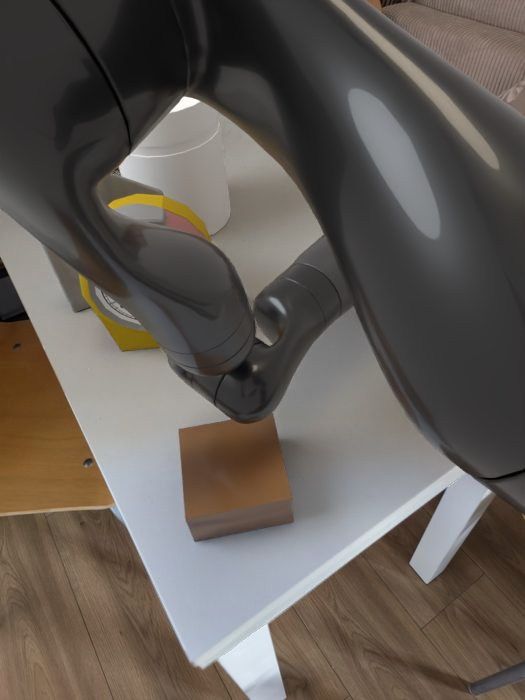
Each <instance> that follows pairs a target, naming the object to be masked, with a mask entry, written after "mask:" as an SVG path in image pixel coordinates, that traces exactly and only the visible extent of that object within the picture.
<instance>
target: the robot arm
mask: <svg viewBox="0 0 525 700" xmlns="http://www.w3.org/2000/svg"><path fill="white" fill-rule="evenodd" d="M183 97H189V98H193V99H196V100H199V101H201V102H203V103H205V104H207V105H208V106H210V107H212V108H213V109H215V110H216V111H218V114H220V115H222V116H223V117H225V118H226V119H227V120H228V121H230V122H231V123H233V124H234V125H235V126H236V127H238V128H239V129H240V130H241V131H243V132H244V133H245V134H246V135H248V136H249V137H250V138H251V140H252V141H254V142H255V143H256V144H257V145H258V146H259V147H260V148H261V149H263V151H265V152H266V154H268V155H269V156H270V157H271V158H272V159H273V160H274V161H275V162H276V163H277V164H278V165H279V166H280V167H281V168H282V169H283V170H284V172H285V173H286V174H287V175H288V177H289V178H290V179H291V181H293V183H294V184H295V186H296V187H297V189H298V190H299V192H300V193H301V195H302V197H303V198H304V200H305V201H306V203H307V205H308V206H309V208H310V210H311V212H312V214H313V216H314V217H315V220H316V221H317V223H318V225H319V227H320V230H321V231H322V233H323V234H322V236H320V237H319V238H318V239H316V241H314V242H313V243H312V244H311V245H309V246H308V247H307V248H306V249H304V251H303V252H301V253H300V254H299V255H298V256H297V258H296V259H295V260H294V261H293V262H292V263H291V265H290V266H289V267H288V268H286V269H285V270H284V271H282V272H281V273H280V274H279V275H278V276H276V277H275V278H274V279H273V280H272V281H270V283H268V284H267V285H266V286H265V287H264V288H262V290H260V292H259V293H258V294H257V295H256V297H255V298H254V301H253V304H252V306H251V303H250V300H249V298H248V294H247V293H246V290H245V286H244V284H243V281H242V279H241V277H240V274H239V272H238V271H237V269H236V266H235V265H234V263H233V262H232V261H231V260H230V258H229V257H228V256H227V255H226V254H225V253H224V251H222V249H220V248H219V246H217V245H216V244H214V243H213V242H212V243H211V242H210V241H208V240H207V239H205V238H203V237H201V236H198V235H196V234H194V233H191V232H188V231H185V230H181V229H177V228H172V227H168V226H163V225H158V224H152V223H148V222H144V221H140V220H137V219H134V218H131V217H128V216H125V215H122V214H120V213H118V212H116V211H115V210H113V209H111V208H110V207H109V206H108V205H107V204H106V203H105V202H104V201H103V200H102V199H101V197H100V195H99V193H98V186H99V184H100V182H101V181H102V180H104V179H105V178H106V177H107V176H109V175H110V174H111V173H112V174H113V173H114V172H115V171H116V170H117V169H119V168H118V167H119V166H120V165H121V164H122V162H123V161H124V160H125V158H126V157H127V156H129V155H130V154H131V153H132V152H133V151H134V150H135V149H136V148H137V147H138V145H139V144H140V143H141V142H142V141H143V140H144V139H145V138H146V137H147V136H148V135H149V134H150V133H151V132H152V131H153V130H154V128H155V127H156V126H157V125H158V124H159V123H160V122H161V121H162V120H163V119H164V118H165V117H166V116H167V115H168V114H169V112H170V111H171V110H172V109H173V108H174V107H175V106H176V105H177V104H178V103H179V102H180V100H181V99H182V98H183ZM0 210H1V211H2V212H3V213H5V214H6V215H7V216H9V217H10V219H12V220H14V222H16V223H17V224H18V225H20V226H21V227H22V228H23V229H25V230H26V231H27V232H28V233H29V235H32V236H33V237H34V238H35V239H36V240H37V241H38V242H40V244H41V243H42V244H43V245H45V246H46V247H47V248H48V249H49V250H50V251H52V252H53V253H54V254H55V255H56V256H58V257H59V258H60V259H61V260H63V261H64V262H65V263H66V264H68V265H69V266H70V267H71V268H73V269H74V270H75V271H76V272H78V273H79V274H80V275H81V276H83V277H84V278H85V279H86V280H87V281H89V282H90V283H91V284H93V285H94V286H95V287H97V288H98V289H99V290H101V291H102V292H103V293H105V294H106V295H107V296H109V297H110V298H111V299H113V300H114V301H115V302H117V303H118V304H119V305H120V306H122V307H123V308H124V309H125V310H127V311H128V312H129V313H130V314H131V315H132V316H134V317H135V318H136V319H137V320H138V321H139V323H140V324H141V325H142V326H143V327H144V328H145V329H146V330H147V331H148V332H149V334H150V335H151V336H152V337H153V339H154V340H155V341H156V342H157V343H158V344H159V346H160V347H159V348H161V350H163V352H164V353H165V354H166V358H167V363H168V365H169V367H170V368H171V370H172V371H173V372H174V373H175V375H177V376H178V378H179V379H181V380H182V381H183V382H184V383H185V384H186V385H187V386H188V387H190V388H191V389H192V390H193V391H195V392H196V393H198V394H199V395H200V396H201V397H202V398H204V399H205V400H206V401H208V402H209V403H210V404H211V405H212V406H214V407H215V408H217V409H218V410H219V411H220V412H221V413H222V414H223V415H225V416H226V417H227V418H229V420H231V419H232V420H234V421H235V422H237V423H241V424H251V423H255V422H258V421H261V420H263V419H265V418H267V417H268V416H269V415H270V414H271V413H273V414H274V412H275V411H276V409H277V408H278V406H279V405H280V403H281V401H282V400H283V398H284V396H285V395H286V392H287V390H288V388H289V386H290V384H291V381H292V379H293V377H294V375H295V374H296V371H297V369H298V367H299V366H300V365H301V362H302V361H303V359H304V358H305V356H306V355H307V352H308V351H309V350H310V348H311V347H312V345H313V344H314V343H315V342H316V341H317V339H319V338H320V337H321V335H323V333H324V332H325V331H327V329H328V328H329V327H331V325H333V323H335V321H337V320H338V319H339V318H340V317H341V316H343V315H345V314H346V313H347V312H349V311H350V310H351V309H352V308H353V309H354V310H355V312H356V316H357V317H358V320H359V323H360V325H361V327H362V330H363V332H364V335H365V337H366V340H367V342H368V344H369V347H370V348H371V350H372V353H373V355H374V357H375V360H376V361H377V363H378V366H379V368H380V370H381V372H382V374H383V376H384V379H385V380H386V382H387V384H388V386H389V388H390V391H391V392H392V394H393V396H394V398H395V399H396V401H397V402H398V404H399V406H400V407H401V409H402V411H403V412H404V414H405V415H406V417H407V419H408V420H409V421H410V423H411V424H412V425H413V426H414V428H415V429H416V431H417V432H418V433H419V434H420V435H421V436H422V437H423V438H424V440H426V441H427V442H428V444H430V445H431V446H432V447H433V449H435V450H436V451H437V452H439V454H441V455H442V456H444V457H445V458H446V459H447V460H448V461H450V462H451V463H453V464H454V465H455V466H457V468H459V469H460V470H462V471H463V472H464V473H465V474H467V475H469V476H470V477H471V478H473V480H475V481H476V482H478V483H479V484H481V485H482V486H483V487H485V488H486V489H487V490H489V491H490V492H491V493H493V494H494V495H496V496H497V497H498V498H500V500H502V501H504V502H505V503H506V504H508V505H509V506H510V507H512V508H514V509H515V510H516V511H518V512H519V513H520V514H521V515H522V516H524V517H525V115H524V114H522V113H521V112H519V111H518V110H517V109H516V108H514V107H513V106H511V105H510V104H509V103H507V102H506V101H504V100H503V99H502V98H500V97H499V96H497V95H496V94H495V93H493V92H492V91H490V90H489V89H488V88H486V87H485V86H483V85H482V84H481V83H479V82H478V81H477V80H475V79H473V78H472V77H471V76H469V75H468V74H467V73H465V72H464V71H462V70H461V69H459V68H458V67H457V66H455V65H454V64H453V63H452V62H450V61H449V60H447V59H445V58H444V57H443V56H442V55H439V54H438V53H437V52H436V51H434V50H433V49H431V48H430V47H429V46H427V45H425V43H423V42H422V41H420V40H419V39H417V38H416V37H415V36H413V35H412V34H411V33H409V32H408V31H406V30H405V29H404V28H403V27H401V26H400V25H398V24H397V23H395V22H394V21H393V20H392V19H390V18H389V17H388V16H386V15H385V14H384V13H383V12H382V11H380V10H379V9H378V8H377V7H375V6H374V5H372V4H371V3H370V2H369V1H367V0H0ZM256 326H257V327H258V328H259V330H260V331H261V333H262V334H263V336H264V337H266V339H267V340H268V341H269V342H270V343H271V345H269V344H268V343H265V342H264V341H263V340H261V339H260V338H259V337H257V327H256Z"/></svg>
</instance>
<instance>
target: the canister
mask: <svg viewBox="0 0 525 700" xmlns="http://www.w3.org/2000/svg"><path fill="white" fill-rule="evenodd" d="M224 153H225V152H224V146H223V137H222V131H221V123H220V121H219V112H218V111H216V110H215V109H213V108H212V107H210V106H208V105H207V104H205V103H203V102H201V101H199V100H196V99H193V98H189V97H183V98H182V99H181V100H180V102H179V103H178V104H177V105H176V106H175V107H174V108H173V109H172V110H171V111H170V112H169V114H168V115H167V116H166V117H165V118H164V119H163V120H162V121H161V122H160V123H159V124H158V125H157V126H156V127H155V128H154V130H153V131H152V132H151V133H150V134H149V135H148V136H147V137H146V138H145V139H144V140H143V141H142V142H141V143H140V144H139V145H138V147H137V148H136V149H135V150H134V151H133V152H132V153H131V154H130V155H129V156H127V157H126V158H125V160H124V161H123V162H122V164H121V165H120V166H119V168H118V169H119V173H120V176H121V177H124V178H128V179H131V180H134V181H137V182H139V183H142V184H145V185H148V186H151V187H154V188H157V189H160V190H161V191H162V192H163V194H164V196H165V197H168V198H170V199H172V200H175V201H177V202H179V203H182V204H184V205H186V206H188V207H189V208H190V209H191V210H192V211H193V212H194V213H195V214H196V215H197V216H198V217H199V218H200V219H201V220H202V221H203V222H204V224H205V226H206V229H207V231H208V233H209V236H210V237H211V236H213V235H215V234H216V233H218V232H219V231H220V230H221V229H223V228H224V227H225V226H226V224H227V223H228V221H229V220H230V218H231V211H232V208H231V200H230V193H229V192H230V191H229V185H228V177H227V169H226V160H225V154H224Z"/></svg>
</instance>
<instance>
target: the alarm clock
mask: <svg viewBox="0 0 525 700" xmlns="http://www.w3.org/2000/svg"><path fill="white" fill-rule="evenodd" d="M108 206H109V207H110V208H111V209H113V210H115V211H116V212H118V213H120V214H122V215H125V216H128V217H131V218H134V219H137V220H140V221H144V222H148V223H152V224H158V225H163V226H168V227H172V228H177V229H181V230H185V231H188V232H191V233H194V234H196V235H198V236H201V237H203V238H205V239H207V240H208V241H210V242H211V243H213V240H212V238H211V236H209V233H208V231H207V229H206V226H205V224H204V222H203V221H202V220H201V219H200V218H199V217H198V216H197V215H196V214H195V213H194V212H193V211H192V210H191V209H190V208H189V207H188V206H186V205H184V204H182V203H179V202H177V201H175V200H172V199H170V198H168V197H165V196H163V195H149V194H134V195H131V196H127V197H124V198H121V199H117V200H114V201H112V202H111V203H110V204H109V205H108ZM79 279H80V285H81V291H82V295H83V297H84V298H85V300H86V301H87V302H88V304H89V305H90V306H91V307H90V308H91V309H92V311H93V312H94V313H95V314H96V316H97V318H98V319H99V321H100V322H101V323H102V325H103V327H104V328H105V329H106V330H107V332H108V333H109V335H110V336H111V338H112V340H113V341H114V342H115V343H116V345H117V346H118V348H119V349H120V351H121V352H126V351H127V352H128V351H137V350H145V349H146V350H147V349H154V348H156V349H157V348H161V347H160V346H159V344H158V343H157V342H156V341H155V340H154V339H153V337H152V336H151V335H150V334H149V332H148V331H147V330H146V329H145V328H144V327H143V326H142V325H141V324H140V323H139V321H138V320H137V319H136V318H135V317H134V316H132V315H131V314H130V313H129V312H128V311H127V310H125V309H124V308H123V307H122V306H120V305H119V304H118V303H117V302H115V301H114V300H113V299H111V298H110V297H109V296H107V295H106V294H105V293H103V292H102V291H101V290H99V289H98V288H97V287H95V286H94V285H93V284H91V283H90V282H89V281H87V280H86V279H85V278H84V277H83V276H81V275H80V274H79Z"/></svg>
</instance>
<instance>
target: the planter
mask: <svg viewBox="0 0 525 700" xmlns="http://www.w3.org/2000/svg"><path fill="white" fill-rule="evenodd" d="M98 193H99V195H100V197H101V199H102V200H103V201H104V202H105V203H106V204H107V205H109V204H110V203H111V202H112V201H114V200H117V199H121V198H124V197H127V196H131V195H134V194H149V195H163V196H164V194H163V192H162V191H161V190H160V189H157V188H154V187H151V186H148V185H145V184H142V183H139V182H137V181H134V180H131V179H128V178H124V177H122V176H121V175H118V174H116V173H115V174H114V173H113V172H112V173H111V174H110V175H109V176H107V177H106V178H105V179H104V180H102V181H101V182H100V184H99V186H98ZM40 245H41V247H42V249H43V251H44V254H45V255H46V257H47V260H48V262H49V264H50V266H51V268H52V270H53V272H54V275H55V276H56V278H57V281H58V284H59V285H60V287H61V289H62V291H63V294H64V296H65V297H66V301H67V302H68V304H69V306H70V309H71V311H72V313H77V312H80V311H83V310H85V309H88V308H91V306H90V305H89V304H88V302H87V301H86V300H85V298H84V297H83V295H82V291H81V285H80V279H79V273H78V272H76V271H75V270H74V269H73V268H71V267H70V266H69V265H68V264H66V263H65V262H64V261H63V260H61V259H60V258H59V257H58V256H56V255H55V254H54V253H53V252H52V251H50V250H49V249H48V248H47V247H46V246H45V245H43V244H42V243H41V242H40Z"/></svg>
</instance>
